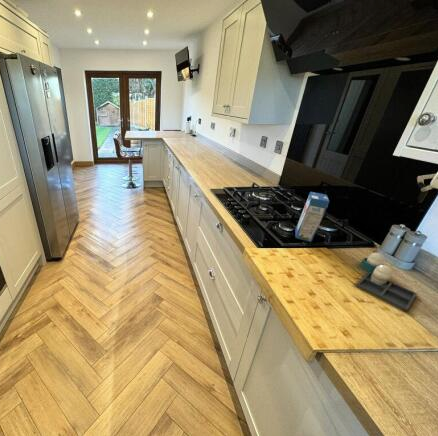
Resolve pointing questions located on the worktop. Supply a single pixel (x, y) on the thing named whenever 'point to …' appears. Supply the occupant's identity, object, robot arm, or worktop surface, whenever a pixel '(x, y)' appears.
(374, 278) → the egg
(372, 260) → the egg
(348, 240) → the worktop surface
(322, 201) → the milk carton
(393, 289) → the egg tray
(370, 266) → the egg cup
